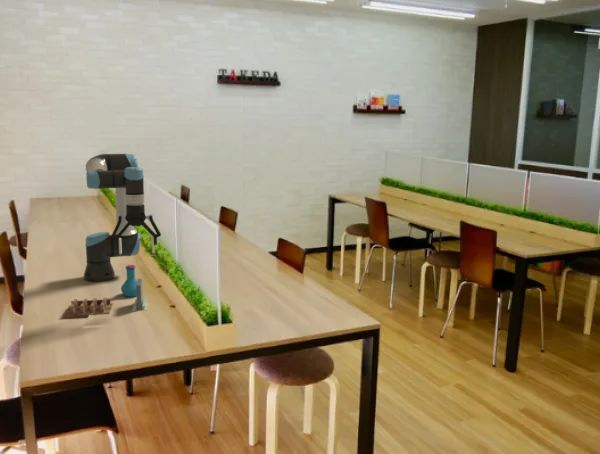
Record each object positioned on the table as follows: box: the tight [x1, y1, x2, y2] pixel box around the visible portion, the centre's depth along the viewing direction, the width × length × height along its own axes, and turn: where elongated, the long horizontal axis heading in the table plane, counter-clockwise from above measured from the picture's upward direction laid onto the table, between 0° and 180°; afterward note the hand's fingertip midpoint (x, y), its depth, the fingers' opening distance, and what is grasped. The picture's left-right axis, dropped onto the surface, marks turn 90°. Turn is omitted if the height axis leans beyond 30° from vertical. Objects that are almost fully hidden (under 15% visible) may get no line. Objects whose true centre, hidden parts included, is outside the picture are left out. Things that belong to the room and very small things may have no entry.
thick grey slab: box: [136, 278, 144, 311], centre depth 240 cm, size 10×2×11 cm, turn 12°
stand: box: [131, 298, 149, 312], centre depth 241 cm, size 11×6×3 cm, turn 12°
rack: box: [62, 297, 114, 319], centre depth 235 cm, size 13×18×4 cm
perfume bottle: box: [120, 264, 138, 298], centre depth 256 cm, size 9×9×15 cm
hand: (137, 253), depth 237 cm, fingers open, 13 cm apart
